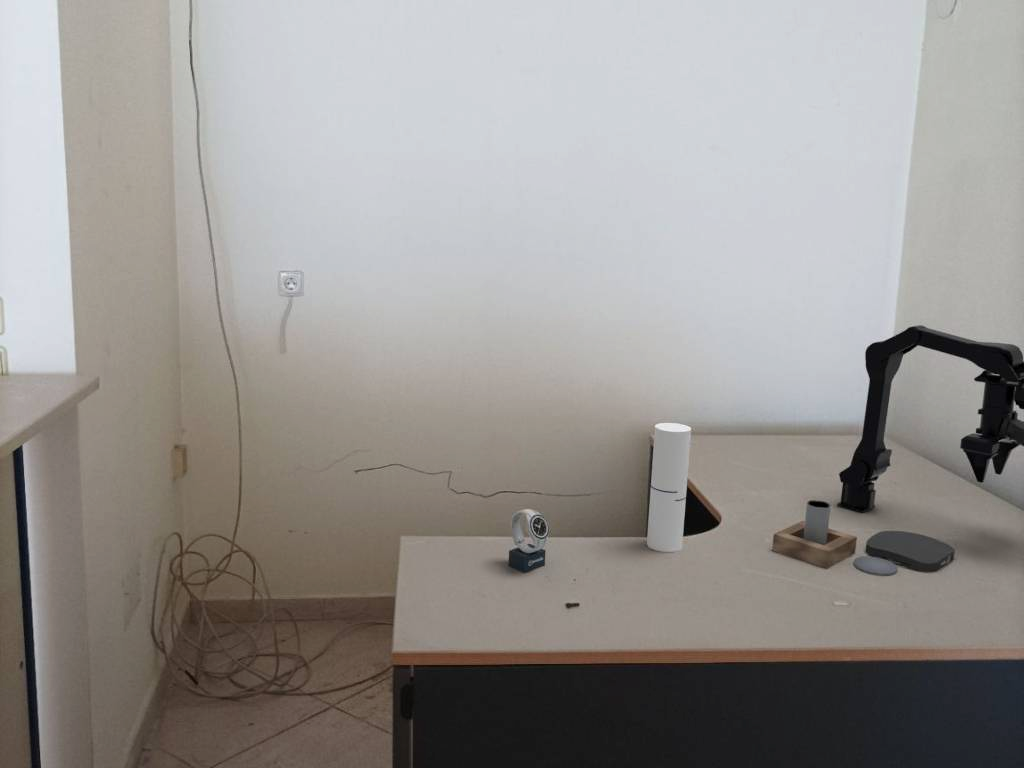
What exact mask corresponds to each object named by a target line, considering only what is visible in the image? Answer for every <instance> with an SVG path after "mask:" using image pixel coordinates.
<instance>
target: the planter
mask: <svg viewBox="0 0 1024 768" xmlns="http://www.w3.org/2000/svg"><path fill="white" fill-rule="evenodd" d="M805 511H806V512H805V519H804V521H805V527H804V537H803V539H805V540H808V541H811V542H815V543H818V544H821V545H826V543H827V534H828V528H829V522H830V515H831V504H830V503H828V502H826V501H823V500H816V499H815V500H814V499H812V500H808V501H807V503H806V510H805Z"/></svg>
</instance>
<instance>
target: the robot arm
mask: <svg viewBox="0 0 1024 768" xmlns="http://www.w3.org/2000/svg"><path fill="white" fill-rule="evenodd" d="M918 346H919V347H923V348H926V349H930V350H932V351H937V352H939V353H944V354H947V355H950V356H954V357H957V358H960V359H964V360H967V361H969V362H971V363H972V364H974V365H975V366H977V367H978V368H981V369H982V370H983V371H982V372H981V373H980V374H979V375H977V376H975V377H974V379H973V381H975V382H976V383H977V382H979V383H984V387H983V399H982V405H981V408H978V409H977V415H980V424H979V427H976V428H975V433H970V434H967V435H965V436H964V437H962V438H961V439H960V447H959V448H960V449H961V450H962V451H963V453H965V455H966V458H967V459H968V462H969V463H970V466H971V469H972V472H973V474H974V476H975V479H976V481H977V482H978V483H984V482H985V479H986V475H987V472H988V468H989V464H990V461H991V460H992V464H993V471H994V473H995V474H996V475H999V476H1001V475H1002V473H1003V471H1004V469H1005V467H1006V464H1007V463H1008V460H1009V457H1010V455H1011V453H1012V452H1013V450H1015V449H1016V448H1017V447H1020V446H1022V447H1024V421H1023V420H1021V419H1018V414H1019V413H1018V412H1017V410H1014V406H1015V405H1016V406H1018V408H1019V409H1021V410H1024V355H1023V352H1022V351H1021V349H1020V347H1019V346H1017V345H1015V344H1012V343H1001V342H990V341H989V342H988V341H987V342H985V341H977V340H973V339H969V338H966V337H962V336H957V335H955V334H950V333H948V332H944V331H940V330H936V329H932V328H929V327H926V326H924V325H922V324H920V325H919V324H918V325H914V326H909V327H907V328H906V329H905V330H902V331H901V332H900V333H898V334H895V335H893V336H891V337H889V338H887V339H885V340H882V341H881V340H880V341H875V342H872V343H870V345H868V346H867V347H866V350H865V353H864V358H865V369H866V373H867V376H868V379H869V382H868V389H867V396H866V404H865V405H866V406H865V412H864V419H863V427H862V434H861V440H860V441H859V444H858V445H857V447H856V449H855V450H854V451H853V452H854V453H853V455H852V458H851V462H850V465H849V466H848V467H846V468H845V469H844V470H842V471H840V472H839V473H838V475H839V481H840V483H842V486H841V488H842V489H841V495H840V501H839V502H837V503H836V506H838V507H842V508H845V509H848V510H852V511H856V512H860V513H865V512H868V511H869V510H872V509H873V508H875V505H876V504H875V501H876V498H875V497H876V492H877V491H876V489H875V482H876V481H877V480H878V479H879V477H880V476H881V475H883V474H884V473H886V471H887V470H888V467H891V456H892V452H893V450H892V449H890V448H887V447H886V445H885V441H884V439H885V438H884V437H885V433H886V427H887V426H886V425H887V418H888V412H889V411H888V410H889V403H890V397H891V391H892V390H891V389H892V382H893V380H894V378H895V376H896V374H897V372H898V371H899V370H900V366H901V363H902V360H903V357H904V355H906V354H908V353H909V352H911V351H913V350H914V349H915V348H917V347H918Z"/></svg>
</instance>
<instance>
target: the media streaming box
mask: <svg viewBox="0 0 1024 768" xmlns="http://www.w3.org/2000/svg"><path fill="white" fill-rule="evenodd" d="M955 551H956V549H955V548H954V547H952V546H951V545H950V544H948V543H946V542H944V541H941V540H939V539H937V538H936V539H935V538H934V537H930V536H927V535H923V534H920V533H916V532H909V531H902V530H883V531H879V532H878V533H877V532H876V533H875V534H873V535H871V537H869V538H868V539H867V540H866V543H865V554H867V555H868V556H869V557H877V558H882V559H885V560H888V561H890V562H892V563H894V564H895V565H896V566H899V567H903V568H906V569H909V570H912V571H917V572H921V573H923V572H924V573H935V572H938V571H940V570H942V569H944V568H945V567H946V566H948V565H949V564H951V563H952V562H953V561H954V560H955V559H954V558H955Z"/></svg>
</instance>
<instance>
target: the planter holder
mask: <svg viewBox="0 0 1024 768" xmlns="http://www.w3.org/2000/svg"><path fill="white" fill-rule="evenodd" d="M804 527H805V520H801V521H799V522H797V523H795V524H792V525H791V526H788V527H787V528H783V529H781V530H779V531H777V532H775V533H774V534H773V537H772V539H773V540H772V549H771V550H772V551H773V550H775V551H774V552H776V551H778V552H777V553H779V552H781V553H780V554H782V553H783V555H785V554H786V555H785V556H788V555H789V557H791V556H792V558H794V557H795V558H794V559H797V558H798V560H800V559H801V560H800V561H804V562H807V563H810V564H813V565H816V566H819V567H821V568H825V569H829V568H830V567H832V566H834V565H836V564H838V563H840V562H841V561H843V560H845V559H847V558H848V557H851V556H853V555H854V554H856V549H857V548H856V547H857V542H858V541H857V539H858V537H857V536H856V535H851V534H849V533H845V532H842V531H839V530H835V529H832V528H829V527H828V534H827V543H826V545H821V544H818V543H815V542H811V541H808V540H805V539H803V537H804Z"/></svg>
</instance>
